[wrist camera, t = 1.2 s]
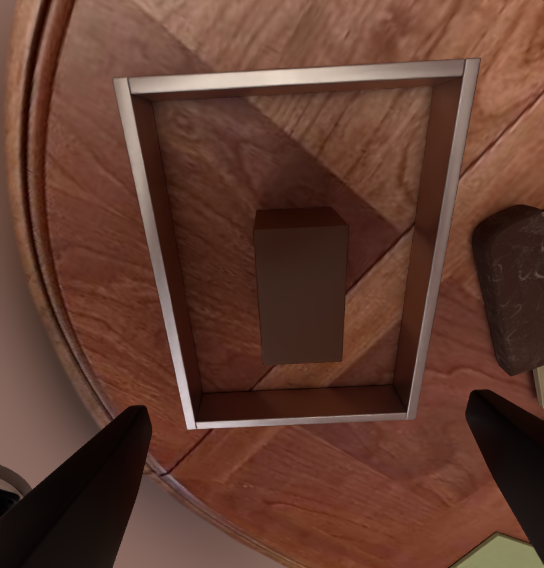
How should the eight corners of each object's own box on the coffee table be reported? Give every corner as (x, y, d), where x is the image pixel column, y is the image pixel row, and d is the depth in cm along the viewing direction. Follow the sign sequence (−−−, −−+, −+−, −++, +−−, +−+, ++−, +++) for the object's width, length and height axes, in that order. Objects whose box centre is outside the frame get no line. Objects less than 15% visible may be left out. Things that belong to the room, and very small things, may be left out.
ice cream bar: (585, 386, 22) (567, 181, 17) (607, 404, 21) (597, 185, 15) (506, 411, 23) (465, 224, 17) (523, 430, 22) (484, 232, 16)
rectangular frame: (400, 390, 22) (415, 419, 20) (195, 400, 22) (187, 430, 20) (448, 70, 15) (482, 57, 12) (135, 87, 15) (111, 77, 12)
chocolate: (328, 321, 20) (342, 362, 16) (263, 324, 20) (262, 365, 16) (331, 206, 17) (349, 224, 13) (256, 210, 17) (252, 229, 13)
